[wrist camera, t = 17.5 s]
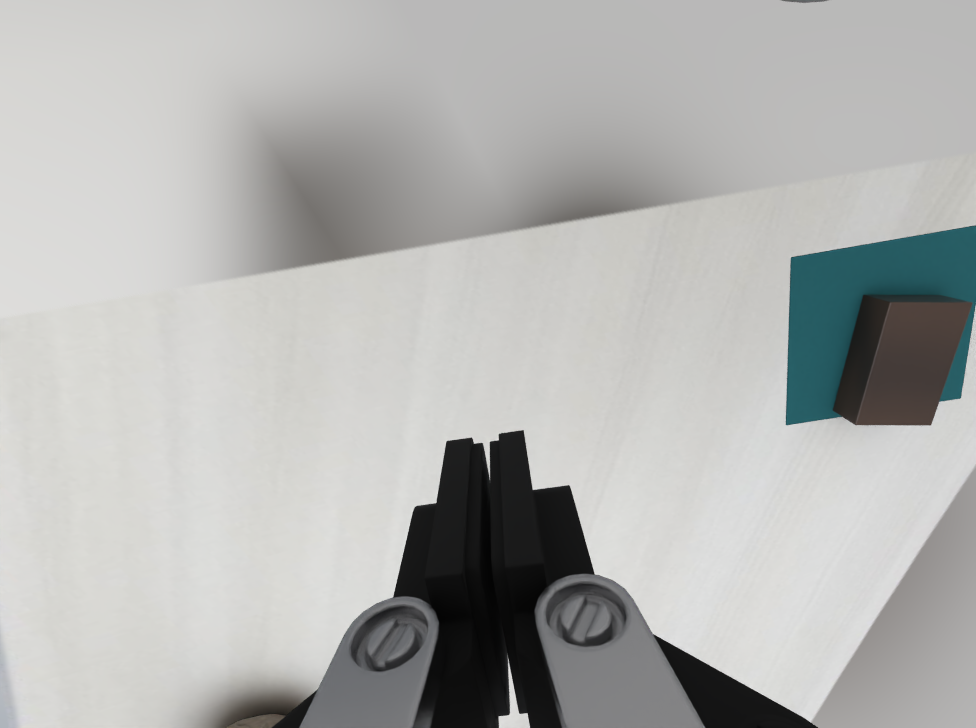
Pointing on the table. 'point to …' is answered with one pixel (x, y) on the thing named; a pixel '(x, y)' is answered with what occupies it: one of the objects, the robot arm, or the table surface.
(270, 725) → the bowl
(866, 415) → the walnut block
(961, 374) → the mat
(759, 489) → the table surface
